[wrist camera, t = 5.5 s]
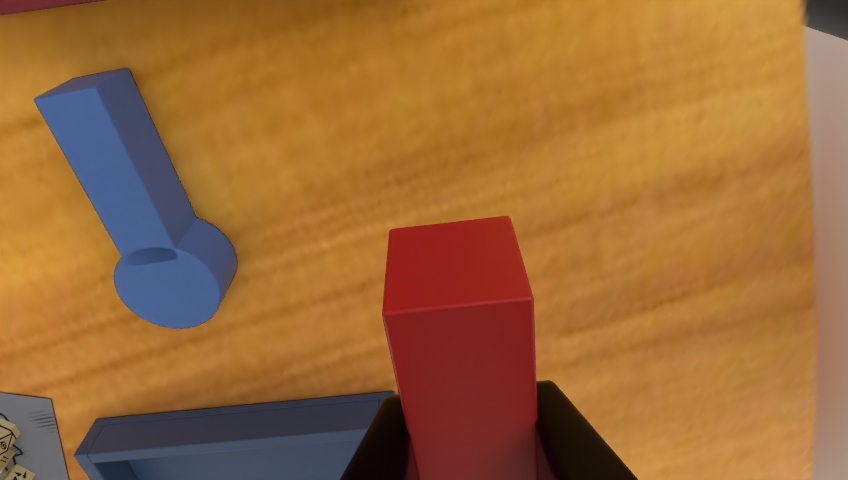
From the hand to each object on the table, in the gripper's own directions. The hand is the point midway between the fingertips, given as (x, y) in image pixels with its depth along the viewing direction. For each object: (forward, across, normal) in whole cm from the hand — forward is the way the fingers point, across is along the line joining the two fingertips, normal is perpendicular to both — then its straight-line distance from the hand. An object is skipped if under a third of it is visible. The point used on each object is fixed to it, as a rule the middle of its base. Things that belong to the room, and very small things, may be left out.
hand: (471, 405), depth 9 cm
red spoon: (+1, 0, +1) cm, 2 cm away
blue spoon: (+11, +10, 0) cm, 14 cm away
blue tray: (+11, +10, +16) cm, 21 cm away
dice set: (+11, +23, +12) cm, 28 cm away
